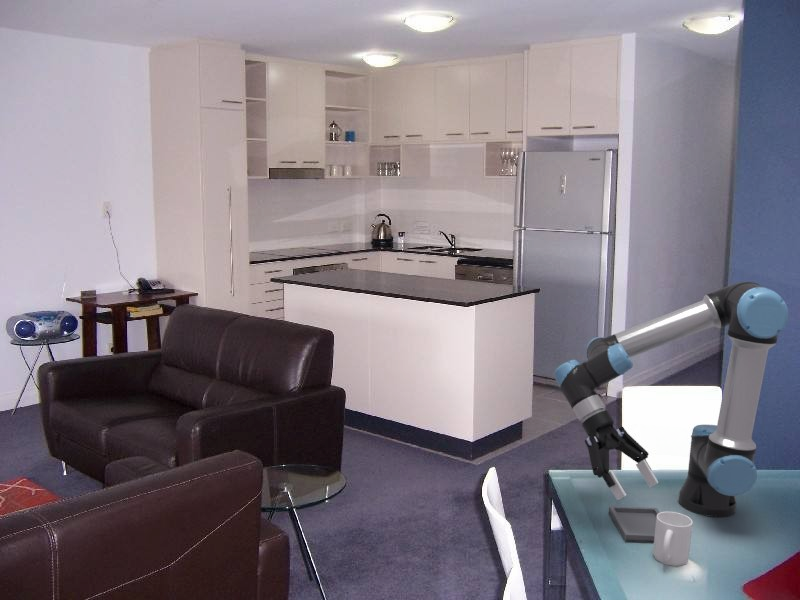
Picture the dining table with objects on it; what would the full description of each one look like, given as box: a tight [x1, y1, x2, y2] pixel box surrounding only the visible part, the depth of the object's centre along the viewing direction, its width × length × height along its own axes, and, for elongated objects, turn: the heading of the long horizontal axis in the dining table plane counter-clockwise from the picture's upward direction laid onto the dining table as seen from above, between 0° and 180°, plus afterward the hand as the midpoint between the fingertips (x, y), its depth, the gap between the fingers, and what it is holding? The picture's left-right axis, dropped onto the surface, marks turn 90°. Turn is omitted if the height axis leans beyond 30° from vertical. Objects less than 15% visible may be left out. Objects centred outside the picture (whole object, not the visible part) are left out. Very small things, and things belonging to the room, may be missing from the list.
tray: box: [608, 505, 660, 544], centre depth 213 cm, size 13×17×2 cm
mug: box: [652, 511, 694, 567], centre depth 195 cm, size 12×8×10 cm
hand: (638, 491), depth 201 cm, fingers open, 13 cm apart
